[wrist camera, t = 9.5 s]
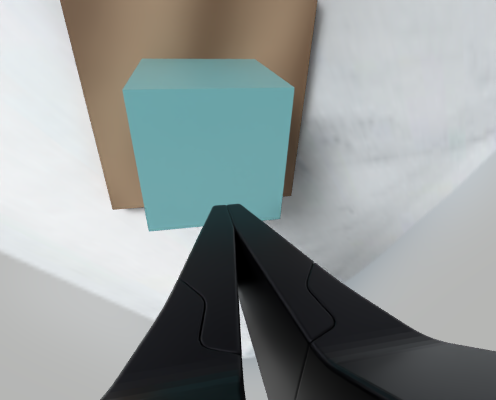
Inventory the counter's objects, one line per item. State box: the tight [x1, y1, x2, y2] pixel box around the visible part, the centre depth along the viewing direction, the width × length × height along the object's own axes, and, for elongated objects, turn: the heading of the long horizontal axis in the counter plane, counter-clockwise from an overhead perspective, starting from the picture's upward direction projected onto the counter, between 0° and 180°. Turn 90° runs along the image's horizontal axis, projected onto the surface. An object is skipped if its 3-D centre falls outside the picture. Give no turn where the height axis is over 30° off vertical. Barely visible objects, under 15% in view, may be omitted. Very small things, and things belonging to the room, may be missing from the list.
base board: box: [60, 0, 317, 210], centre depth 18 cm, size 12×12×1 cm
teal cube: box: [122, 59, 294, 231], centre depth 14 cm, size 6×6×7 cm
